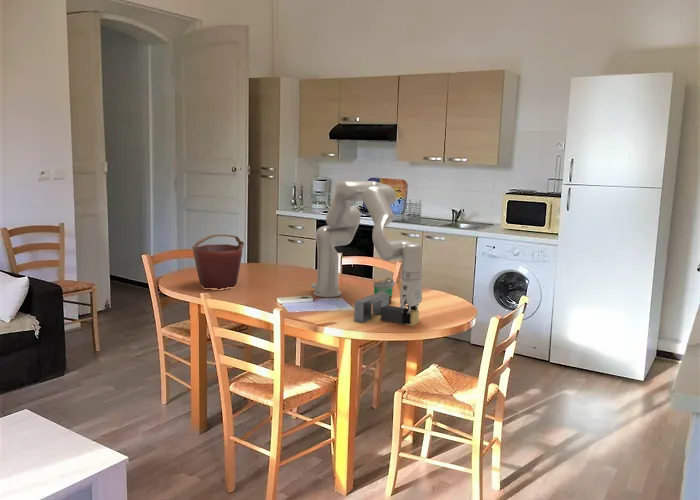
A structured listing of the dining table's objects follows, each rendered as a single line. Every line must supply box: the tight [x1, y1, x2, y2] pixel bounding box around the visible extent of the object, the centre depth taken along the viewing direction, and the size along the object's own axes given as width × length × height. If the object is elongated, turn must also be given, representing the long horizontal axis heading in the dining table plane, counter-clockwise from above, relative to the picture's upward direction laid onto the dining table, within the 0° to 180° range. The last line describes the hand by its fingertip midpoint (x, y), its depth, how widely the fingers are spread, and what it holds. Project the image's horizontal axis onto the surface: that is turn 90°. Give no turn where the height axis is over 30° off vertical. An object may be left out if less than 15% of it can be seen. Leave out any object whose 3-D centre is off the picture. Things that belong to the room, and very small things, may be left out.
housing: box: [354, 292, 390, 323], centre depth 247 cm, size 4×20×8 cm, turn 147°
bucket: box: [191, 233, 245, 289], centre depth 291 cm, size 24×22×25 cm
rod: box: [380, 304, 420, 327], centre depth 241 cm, size 14×5×5 cm, turn 57°
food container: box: [372, 277, 395, 305], centre depth 269 cm, size 12×6×10 cm, turn 148°
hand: (409, 321), depth 239 cm, fingers closed on rod, 4 cm apart
